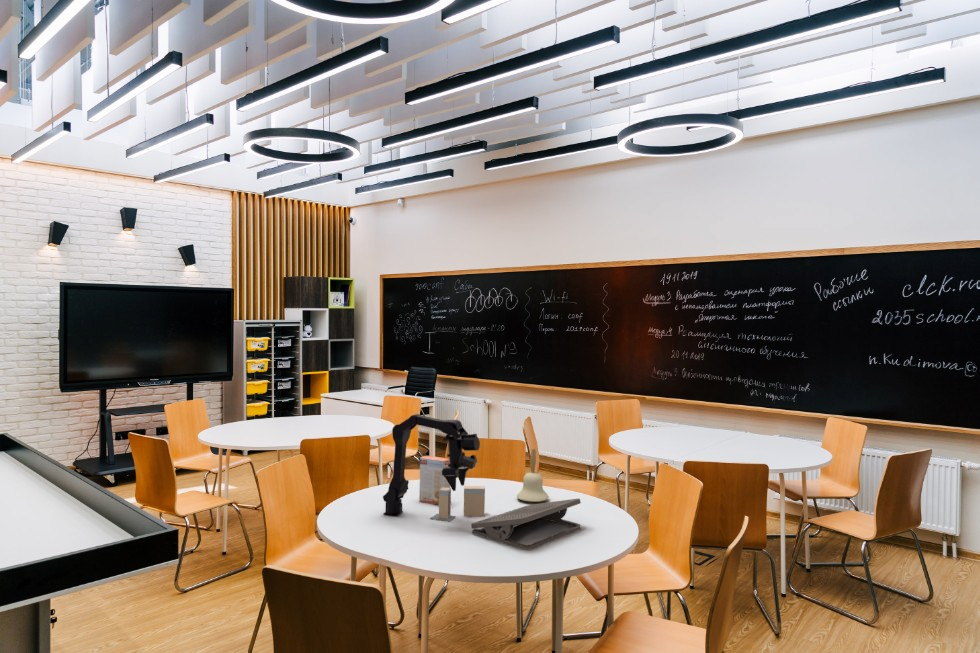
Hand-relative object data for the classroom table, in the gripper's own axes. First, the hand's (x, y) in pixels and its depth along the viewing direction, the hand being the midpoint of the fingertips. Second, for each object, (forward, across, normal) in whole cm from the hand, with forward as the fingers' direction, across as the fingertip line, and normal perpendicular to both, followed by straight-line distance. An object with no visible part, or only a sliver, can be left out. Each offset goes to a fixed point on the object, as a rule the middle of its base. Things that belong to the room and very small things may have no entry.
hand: (458, 488), depth 265 cm
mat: (+14, +4, +10) cm, 18 cm away
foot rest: (+19, +3, -28) cm, 33 cm away
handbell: (+17, +46, -18) cm, 52 cm away
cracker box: (+12, +25, +23) cm, 36 cm away
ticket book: (+15, +14, 0) cm, 20 cm away
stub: (+13, +5, +10) cm, 17 cm away
